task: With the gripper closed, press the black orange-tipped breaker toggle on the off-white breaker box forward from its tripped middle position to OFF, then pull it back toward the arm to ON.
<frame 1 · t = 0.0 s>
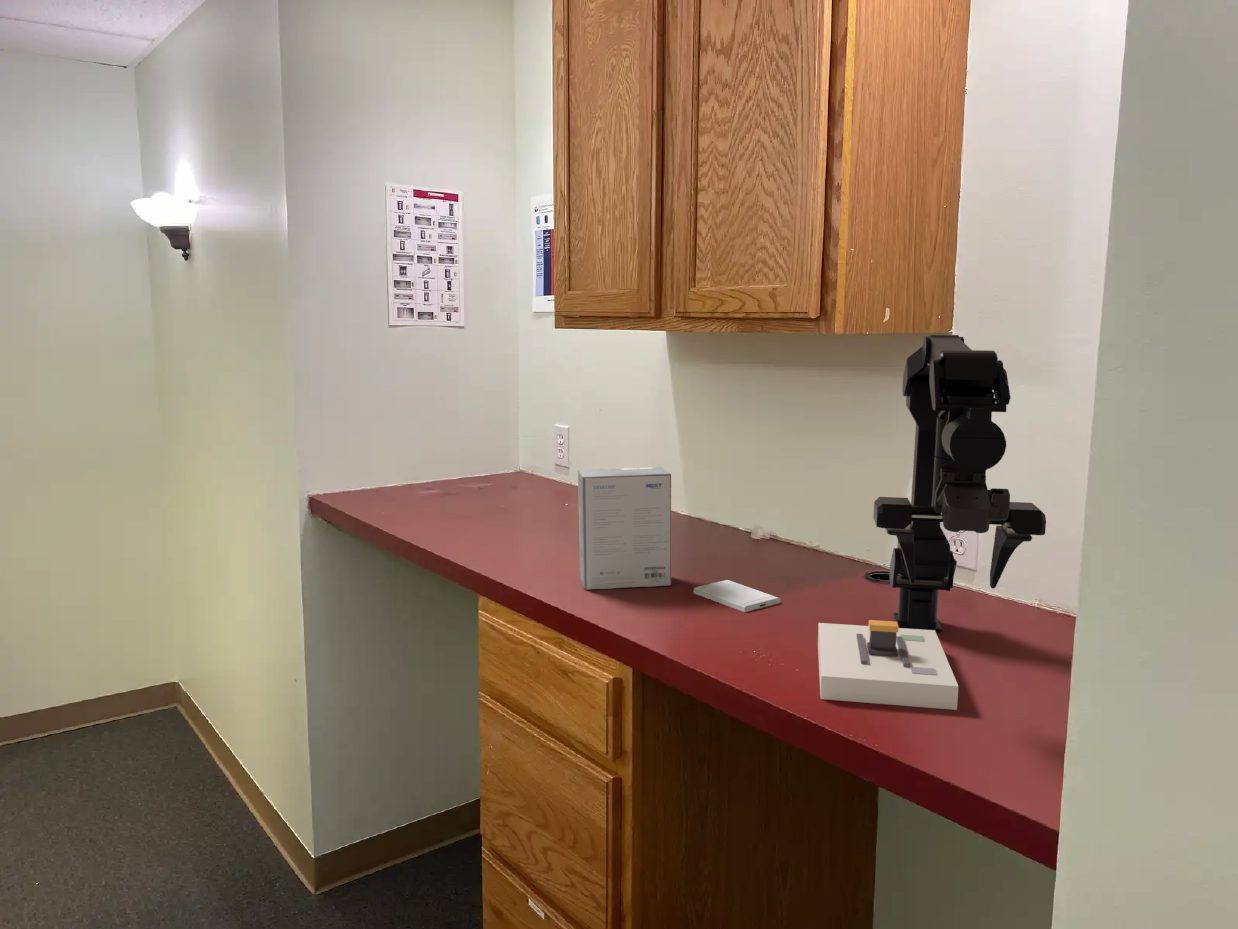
hand: (952, 585, 111), 15 cm above the worktop, fingers open, 9 cm apart
breaker toggle: (882, 637, 121), point 5 cm above the worktop, slide at 4.0 cm
hard drive box: (624, 583, 162), on the worktop
hard drive: (736, 602, 154), on the worktop
breaker box: (880, 673, 122), on the worktop
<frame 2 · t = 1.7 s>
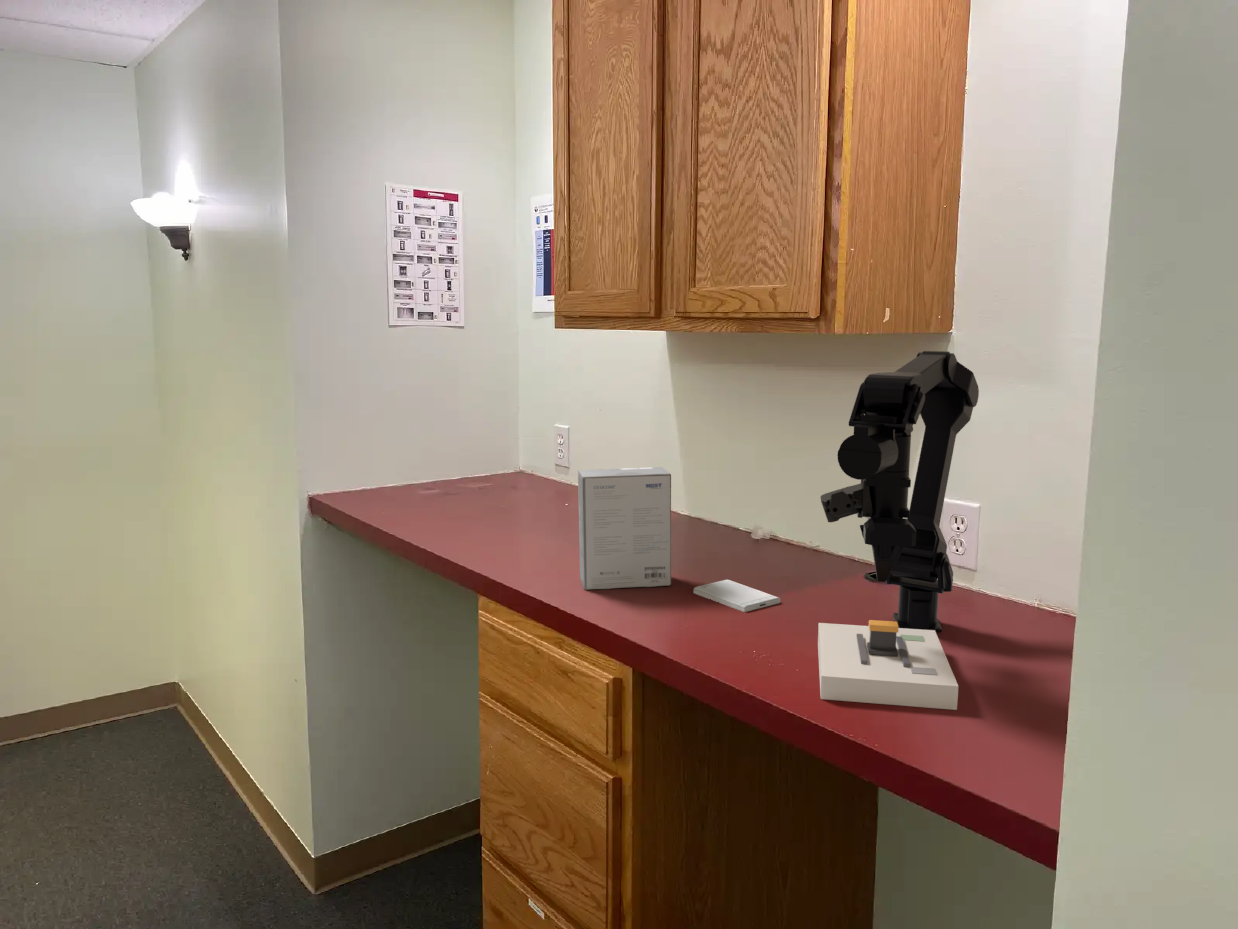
hand: (881, 581, 126), 11 cm above the worktop, fingers closed
nothing on the worktop moved.
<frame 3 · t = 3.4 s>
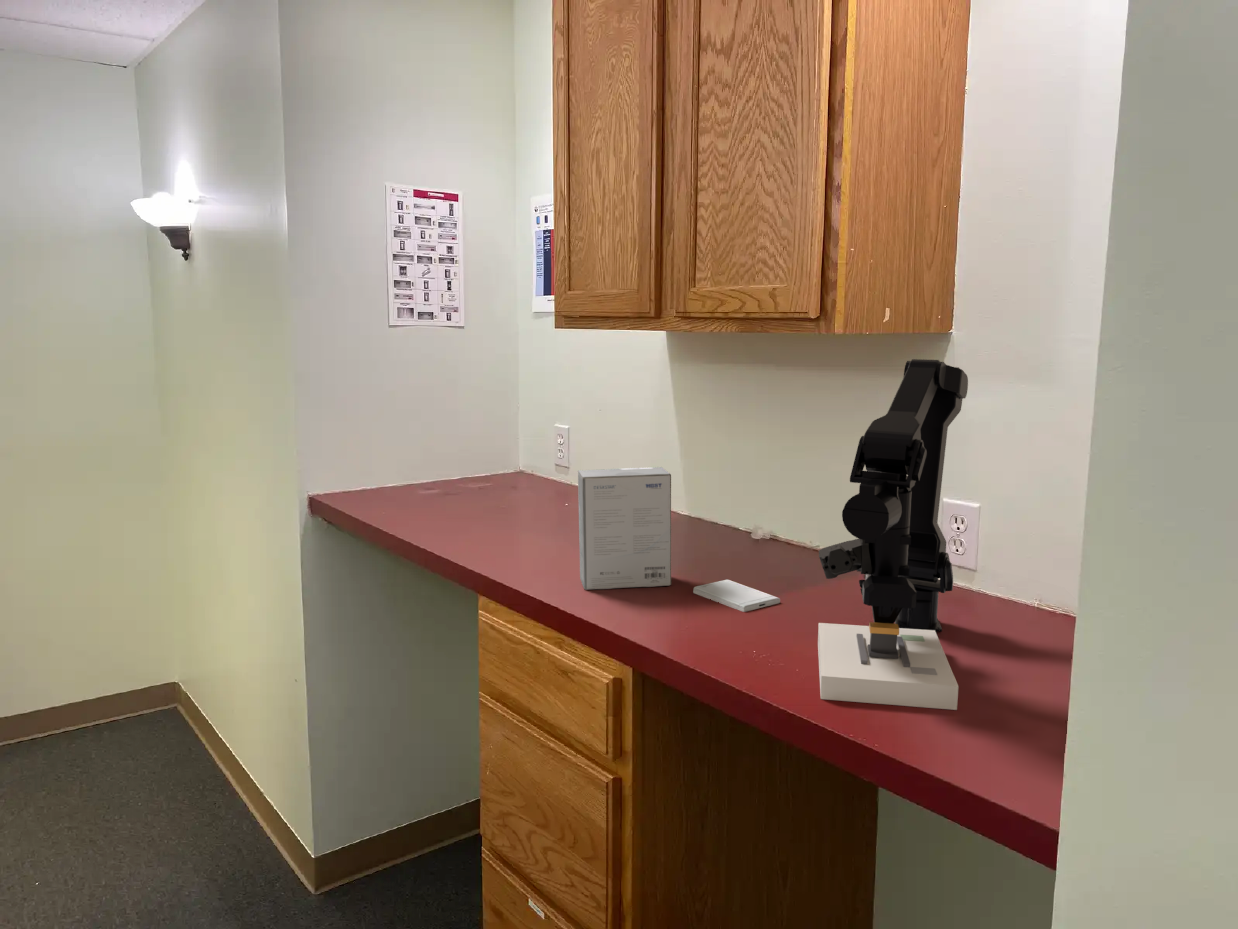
hand: (880, 638, 123), 4 cm above the worktop, fingers closed
breaker toggle: (883, 639, 120), point 5 cm above the worktop, slide at 4.9 cm, touching gripper
everything else where it was.
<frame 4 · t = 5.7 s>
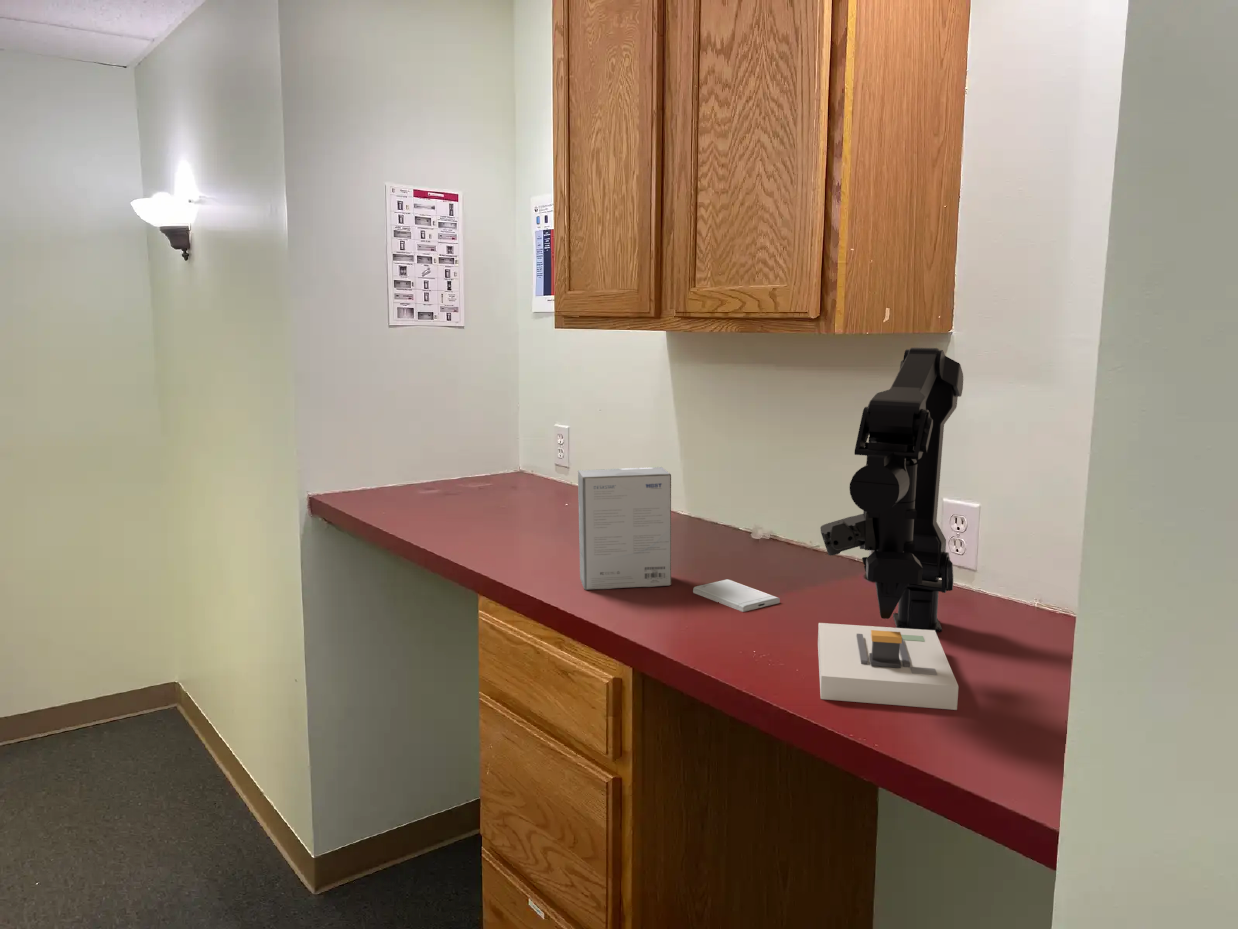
hand: (884, 617, 118), 8 cm above the worktop, fingers closed
breaker toggle: (885, 648, 117), point 5 cm above the worktop, slide at 8.1 cm
everything else where it was.
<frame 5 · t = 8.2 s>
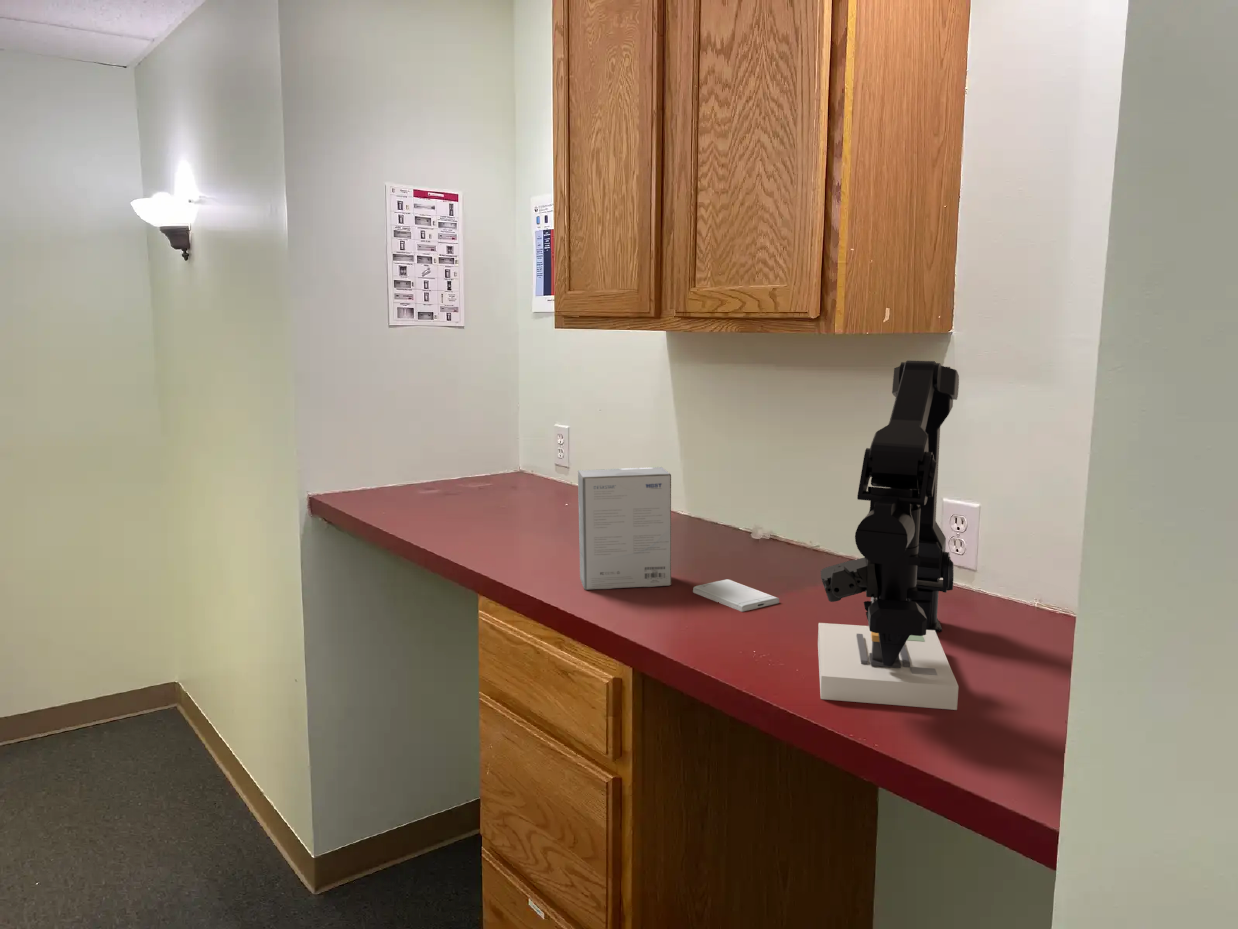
hand: (887, 665, 114), 4 cm above the worktop, fingers closed
breaker toggle: (885, 648, 117), point 5 cm above the worktop, slide at 8.0 cm, touching gripper
everything else where it was.
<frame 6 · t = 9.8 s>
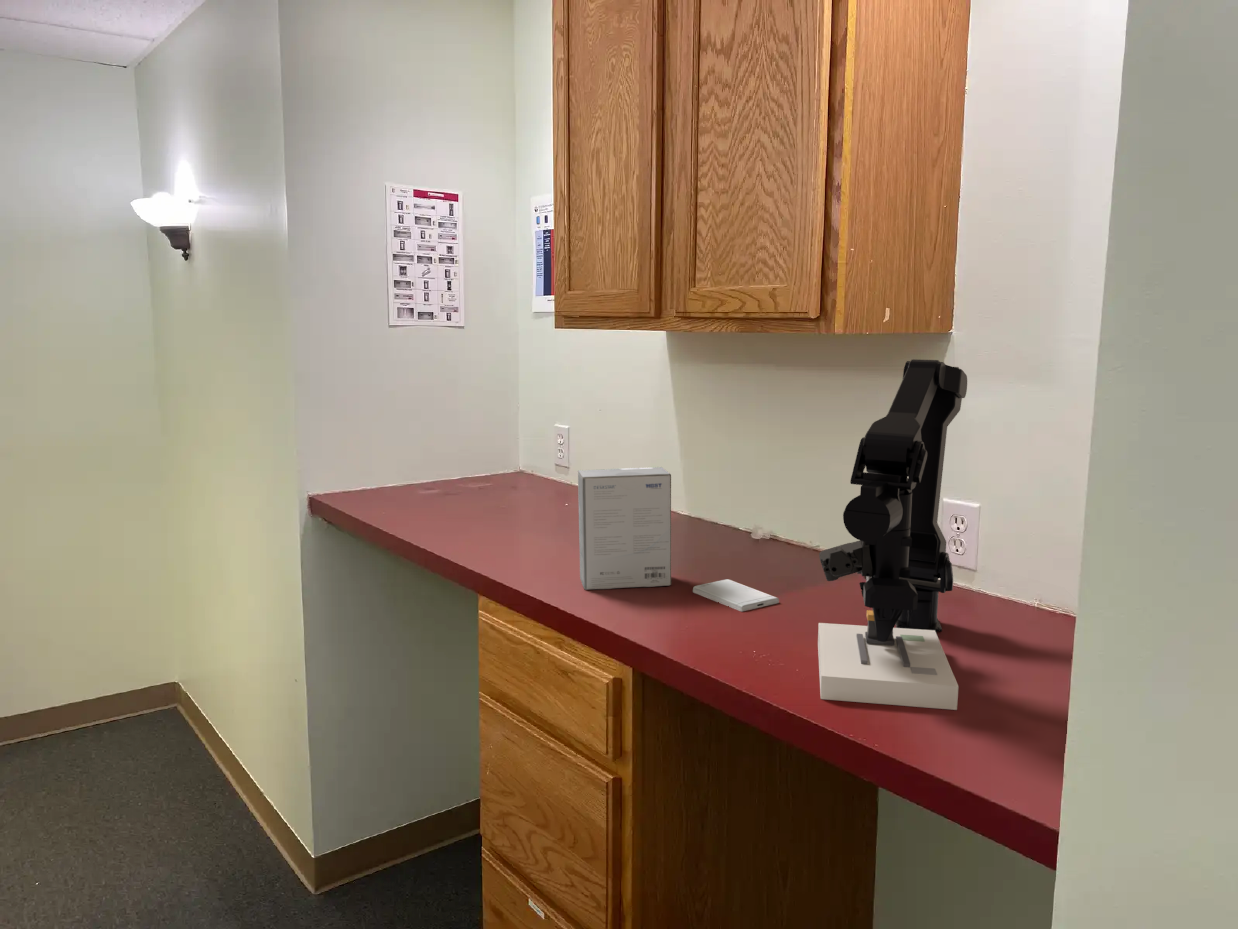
hand: (881, 641, 122), 4 cm above the worktop, fingers closed
breaker toggle: (880, 626, 125), point 5 cm above the worktop, slide at -0.1 cm, touching gripper
everything else where it was.
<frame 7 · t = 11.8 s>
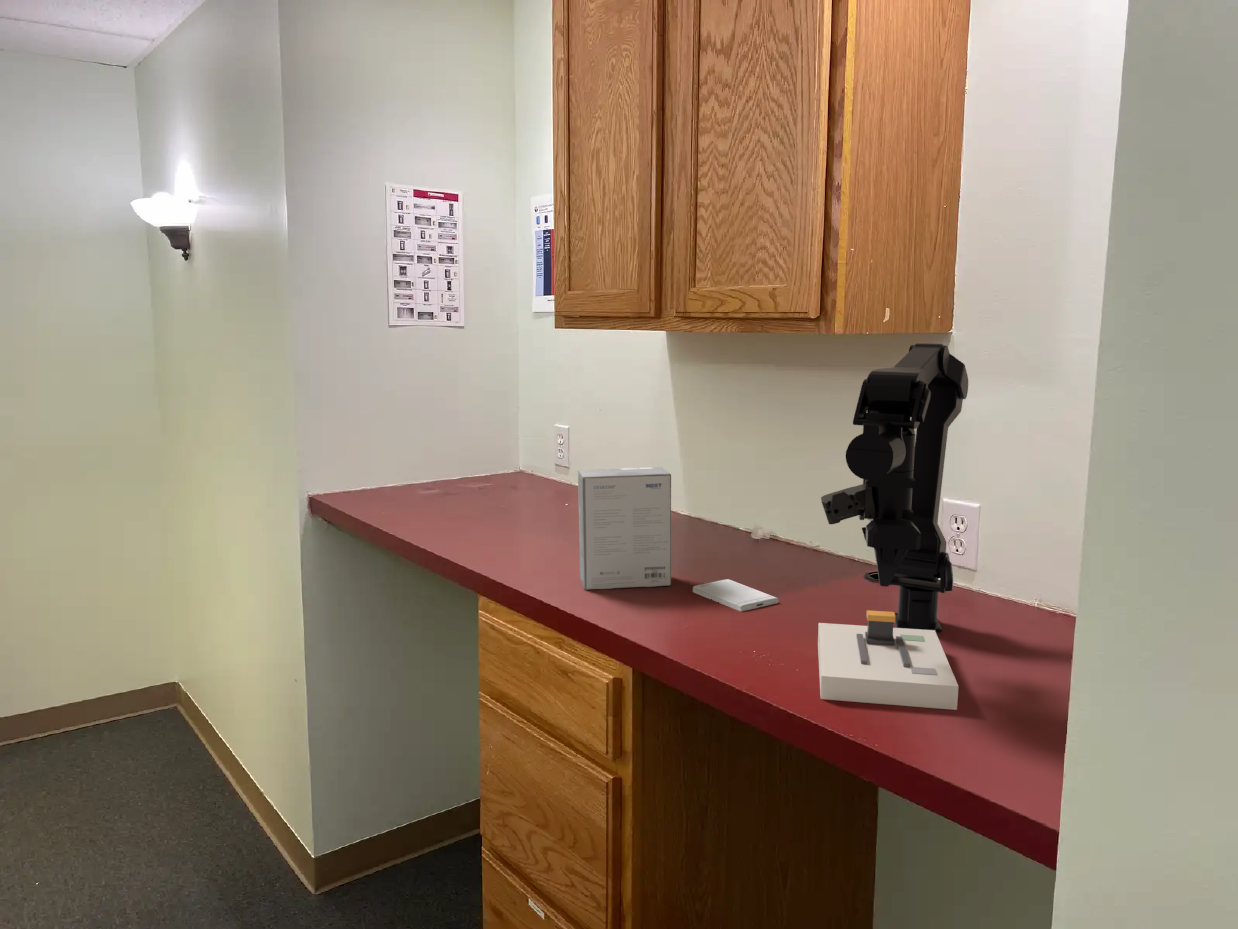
hand: (884, 585, 121), 12 cm above the worktop, fingers closed
breaker toggle: (880, 626, 125), point 5 cm above the worktop, slide at -0.1 cm
everything else where it was.
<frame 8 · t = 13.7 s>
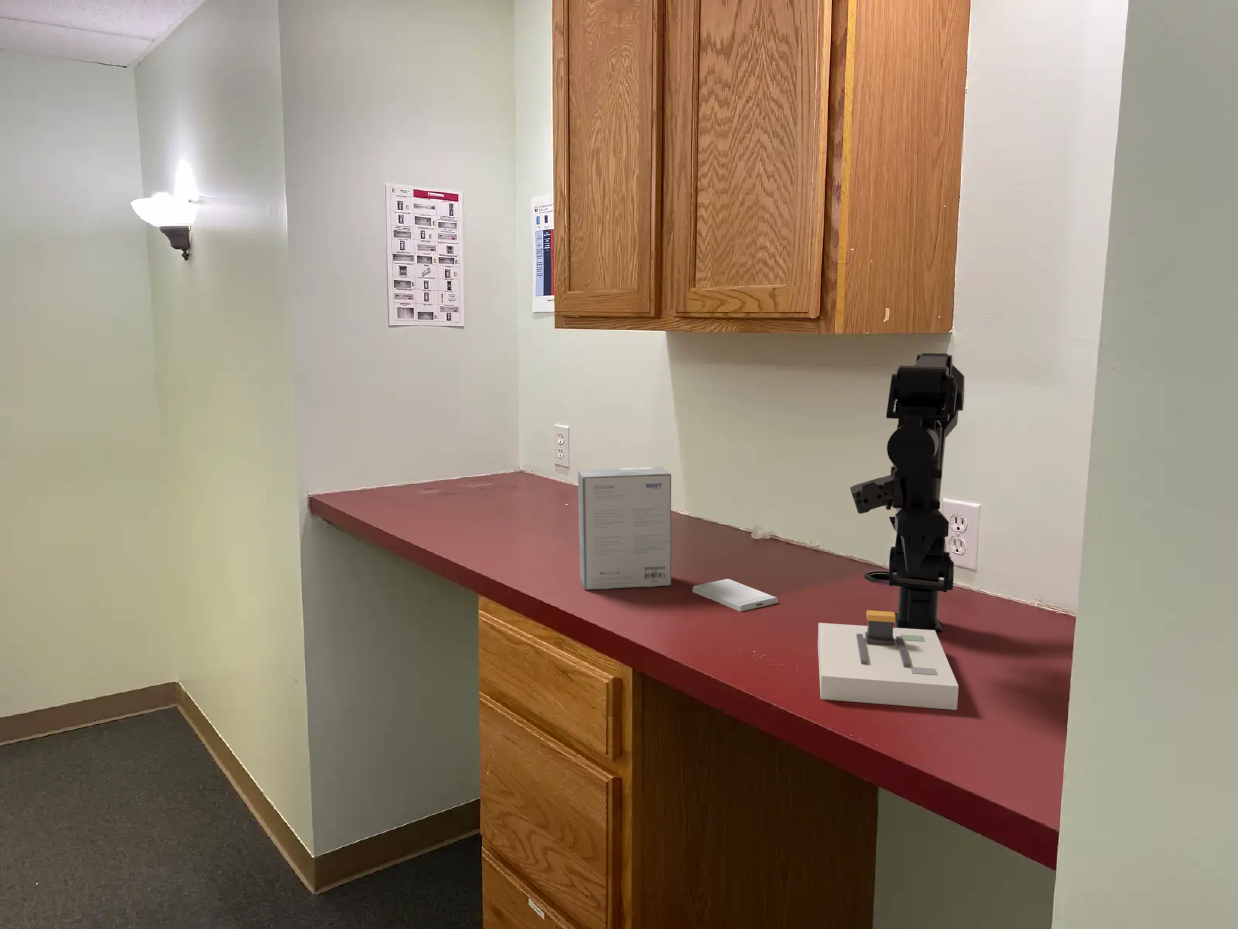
hand: (911, 572, 126), 12 cm above the worktop, fingers closed
nothing on the worktop moved.
at the end: breaker toggle slide at -0.1 cm; hard drive moved 0.9 cm from its start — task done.
